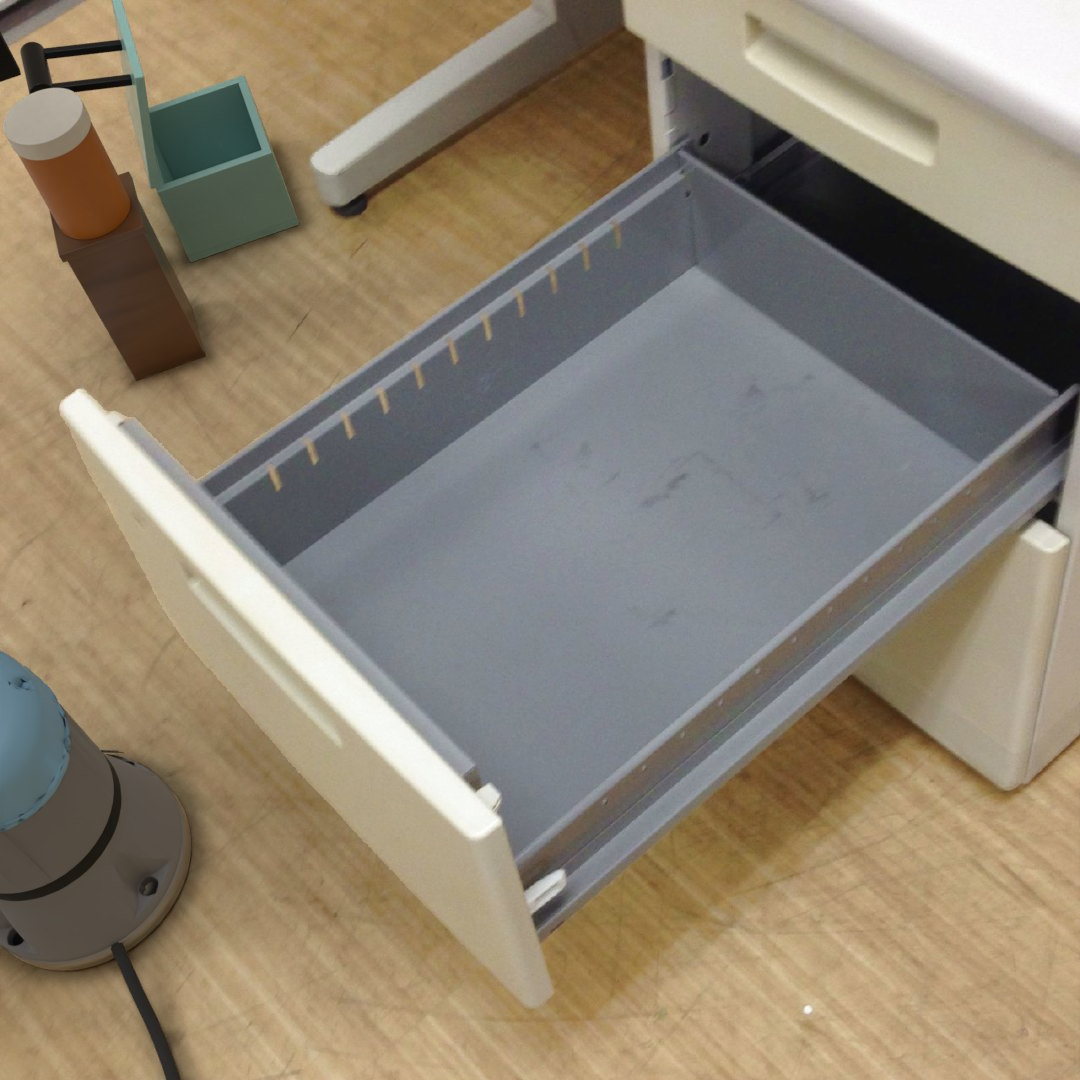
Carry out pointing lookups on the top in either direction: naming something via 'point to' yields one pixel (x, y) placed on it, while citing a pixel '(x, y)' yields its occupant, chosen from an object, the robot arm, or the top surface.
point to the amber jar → (67, 162)
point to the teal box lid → (102, 80)
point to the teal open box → (218, 170)
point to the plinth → (135, 291)
